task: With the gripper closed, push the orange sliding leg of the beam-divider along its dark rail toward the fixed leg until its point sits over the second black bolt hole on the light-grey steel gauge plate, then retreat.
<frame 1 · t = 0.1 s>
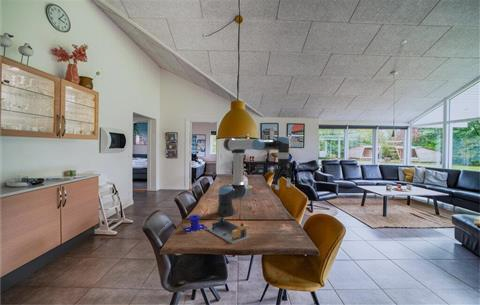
hand: (282, 188, 150), 28 cm above the table, fingers open, 13 cm apart
gauge plate: (226, 233, 139), on the table
sliding leg: (238, 230, 132), point 5 cm above the table, slide at 0.0 cm
mount: (194, 229, 146), on the table
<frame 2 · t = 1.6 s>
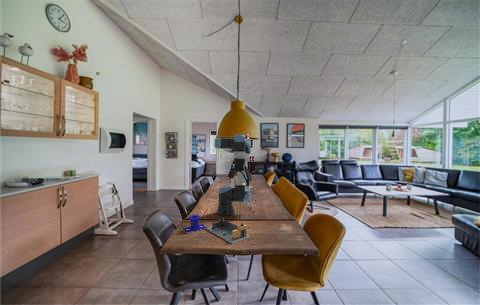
hand: (239, 189, 141), 29 cm above the table, fingers open, 13 cm apart
nothing on the table moved.
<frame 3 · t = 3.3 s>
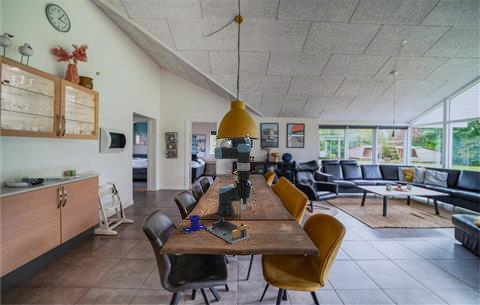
hand: (243, 209, 126), 20 cm above the table, fingers closed
nothing on the table moved.
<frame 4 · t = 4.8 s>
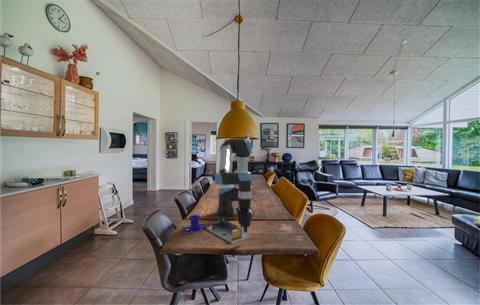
hand: (244, 237, 125), 4 cm above the table, fingers closed
nothing on the table moved.
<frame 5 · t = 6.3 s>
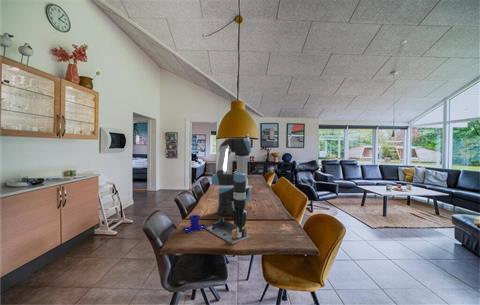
hand: (239, 236, 128), 3 cm above the table, fingers closed
sliding leg: (238, 230, 132), point 5 cm above the table, slide at 0.3 cm, touching gripper
everything else where it was.
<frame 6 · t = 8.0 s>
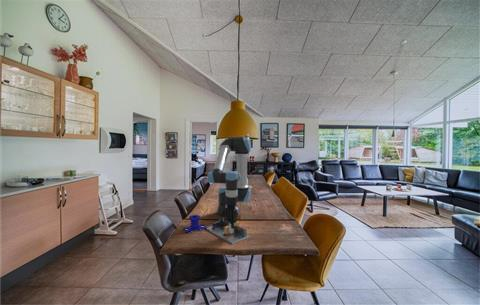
hand: (231, 232, 134), 3 cm above the table, fingers closed
sliding leg: (231, 226, 137), point 5 cm above the table, slide at 7.6 cm
everything else where it was.
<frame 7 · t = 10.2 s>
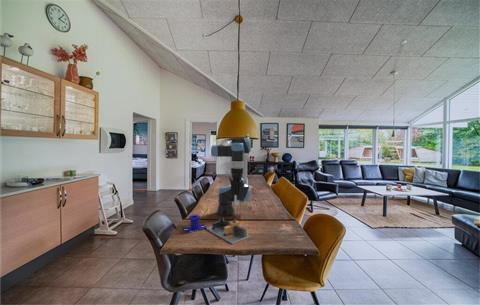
hand: (236, 204, 132), 21 cm above the table, fingers closed
nothing on the table moved.
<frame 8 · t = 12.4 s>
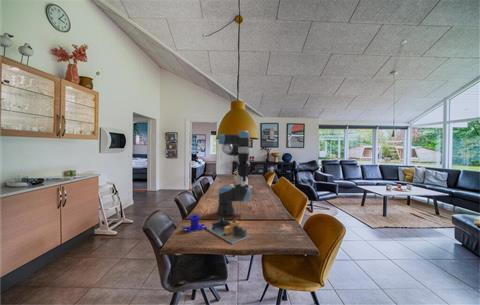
hand: (243, 185, 150), 29 cm above the table, fingers closed
nothing on the table moved.
at the end: sliding leg slide at 7.6 cm; sliding leg moved 7.6 cm from its start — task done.
